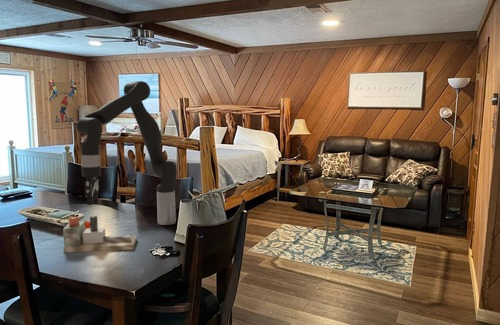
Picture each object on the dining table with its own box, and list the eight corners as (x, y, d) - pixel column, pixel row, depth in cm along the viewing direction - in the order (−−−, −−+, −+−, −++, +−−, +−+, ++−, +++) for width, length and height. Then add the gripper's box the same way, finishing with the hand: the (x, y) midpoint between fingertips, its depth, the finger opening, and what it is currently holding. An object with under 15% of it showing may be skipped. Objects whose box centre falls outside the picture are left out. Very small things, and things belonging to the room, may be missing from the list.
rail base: (136, 239, 176) (136, 218, 174) (133, 249, 164) (132, 227, 163) (72, 242, 172) (71, 221, 170) (63, 252, 160) (62, 229, 158)
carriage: (105, 238, 171) (104, 214, 169) (102, 243, 165) (101, 218, 163) (86, 239, 169) (85, 215, 168) (83, 244, 164) (81, 219, 162)
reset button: (80, 223, 167) (80, 216, 166) (77, 226, 163) (77, 219, 163) (70, 223, 166) (70, 216, 166) (67, 226, 162) (67, 219, 162)
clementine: (77, 233, 184) (76, 218, 183) (92, 231, 187) (92, 217, 186) (77, 238, 177) (76, 223, 176) (93, 236, 180) (92, 222, 178)
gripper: (96, 167, 156) (97, 206, 158) (104, 162, 170) (105, 198, 172) (76, 167, 155) (78, 206, 157) (86, 162, 169) (87, 198, 171)
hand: (92, 202), depth 165 cm, fingers open, 8 cm apart
